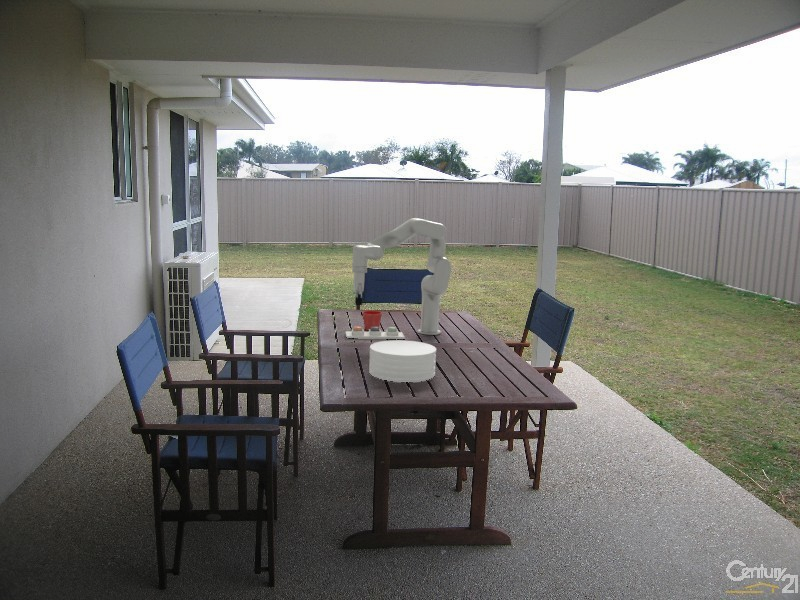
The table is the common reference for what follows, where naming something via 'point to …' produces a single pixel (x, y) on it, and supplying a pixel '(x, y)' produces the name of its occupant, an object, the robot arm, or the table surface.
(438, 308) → the robot arm
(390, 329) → the sage button
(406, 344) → the plate stack
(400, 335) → the button board
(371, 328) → the charcoal button
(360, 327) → the terracotta button
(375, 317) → the flower pot
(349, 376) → the table surface
